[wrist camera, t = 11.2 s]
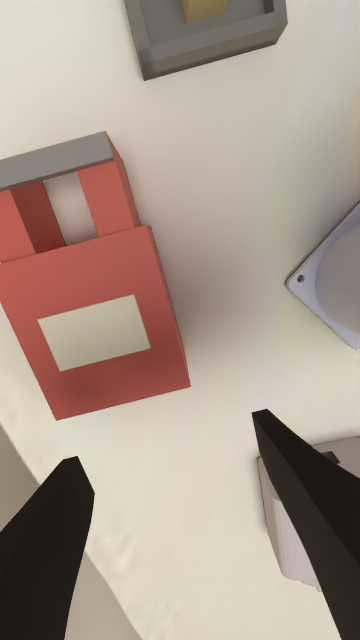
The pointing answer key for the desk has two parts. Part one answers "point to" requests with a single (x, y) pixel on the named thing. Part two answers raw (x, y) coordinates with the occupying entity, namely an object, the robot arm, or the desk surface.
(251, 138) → the desk surface
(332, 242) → the robot arm
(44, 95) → the desk surface
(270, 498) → the charger
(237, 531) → the desk surface
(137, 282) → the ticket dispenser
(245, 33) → the ticket tray
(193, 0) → the wooden blocks
